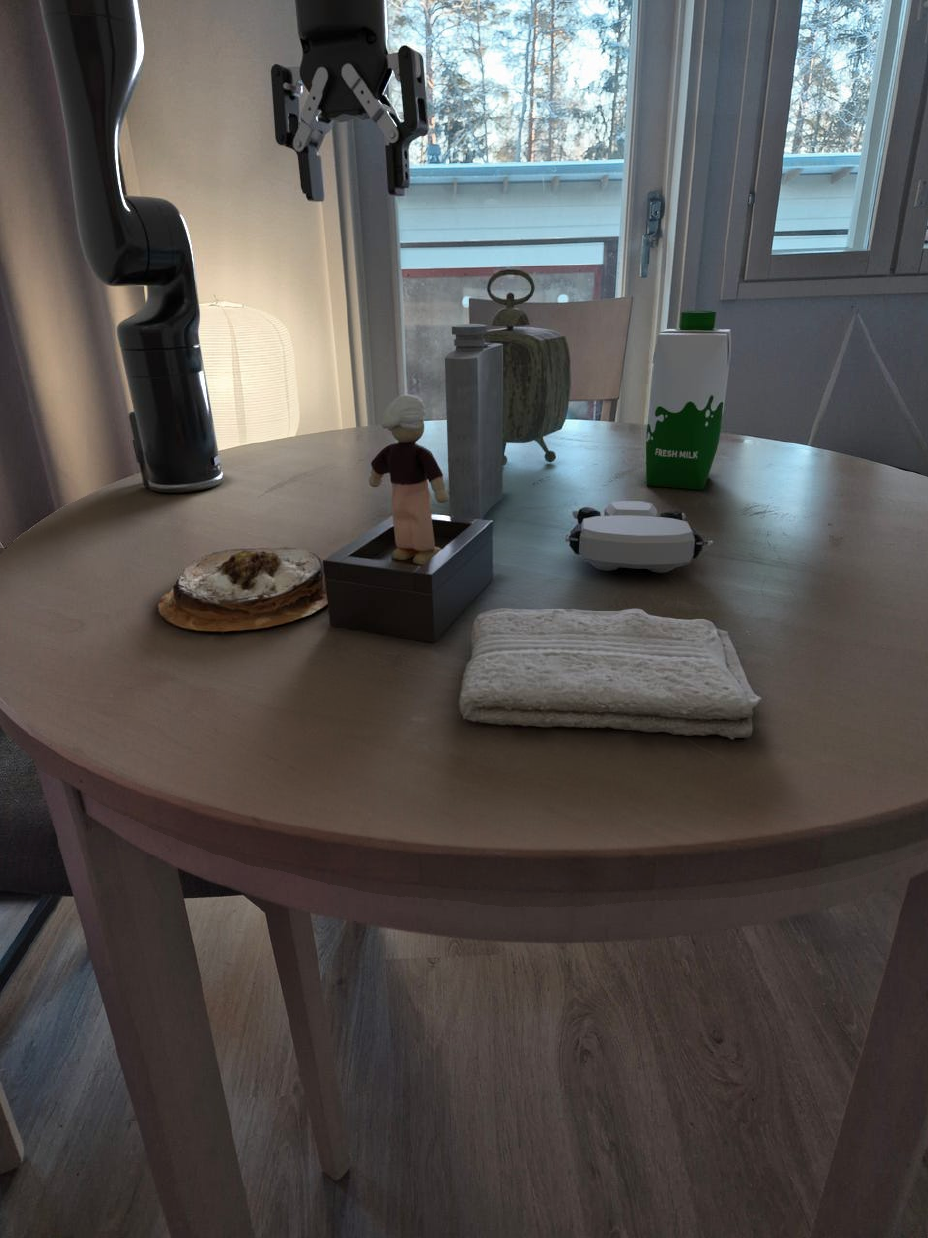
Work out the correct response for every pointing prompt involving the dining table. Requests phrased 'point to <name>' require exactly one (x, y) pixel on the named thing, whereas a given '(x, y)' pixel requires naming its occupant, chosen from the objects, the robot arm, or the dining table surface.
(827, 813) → the dining table surface
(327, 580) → the box with recessed lid
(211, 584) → the cream topped tart
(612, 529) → the robot toy
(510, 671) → the washcloth
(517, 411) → the tabletop clock
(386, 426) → the grandmother figurine
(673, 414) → the milk carton
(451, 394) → the hip flask
